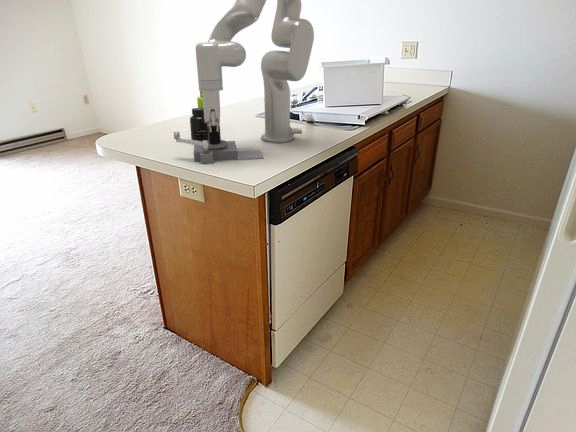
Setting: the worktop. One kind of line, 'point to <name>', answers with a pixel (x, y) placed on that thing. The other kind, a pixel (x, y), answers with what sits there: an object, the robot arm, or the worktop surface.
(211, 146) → the plug
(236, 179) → the worktop surface
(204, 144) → the clip
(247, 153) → the mat
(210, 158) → the grey flat block
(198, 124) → the supplement bottle
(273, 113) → the robot arm
